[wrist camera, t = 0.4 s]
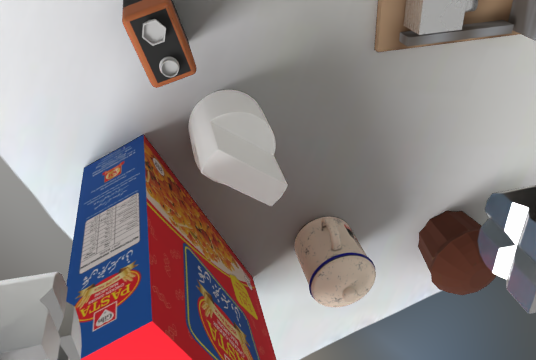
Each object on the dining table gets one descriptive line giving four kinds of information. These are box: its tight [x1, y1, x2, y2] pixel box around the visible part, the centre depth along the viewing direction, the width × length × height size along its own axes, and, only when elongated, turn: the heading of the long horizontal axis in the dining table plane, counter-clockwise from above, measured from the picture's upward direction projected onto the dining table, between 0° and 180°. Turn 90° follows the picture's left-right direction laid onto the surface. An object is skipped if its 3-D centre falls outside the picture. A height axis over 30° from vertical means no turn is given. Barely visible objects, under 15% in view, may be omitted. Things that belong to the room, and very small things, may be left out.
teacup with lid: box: [294, 216, 376, 307], centre depth 66 cm, size 12×9×12 cm
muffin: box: [418, 211, 496, 295], centre depth 73 cm, size 12×11×10 cm
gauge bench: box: [374, 0, 536, 52], centre depth 54 cm, size 19×10×6 cm, turn 92°
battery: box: [122, 0, 196, 88], centre depth 46 cm, size 4×7×10 cm, turn 16°
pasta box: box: [66, 134, 276, 360], centre depth 54 cm, size 28×8×28 cm, turn 25°
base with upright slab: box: [188, 89, 288, 206], centre depth 54 cm, size 9×9×12 cm
